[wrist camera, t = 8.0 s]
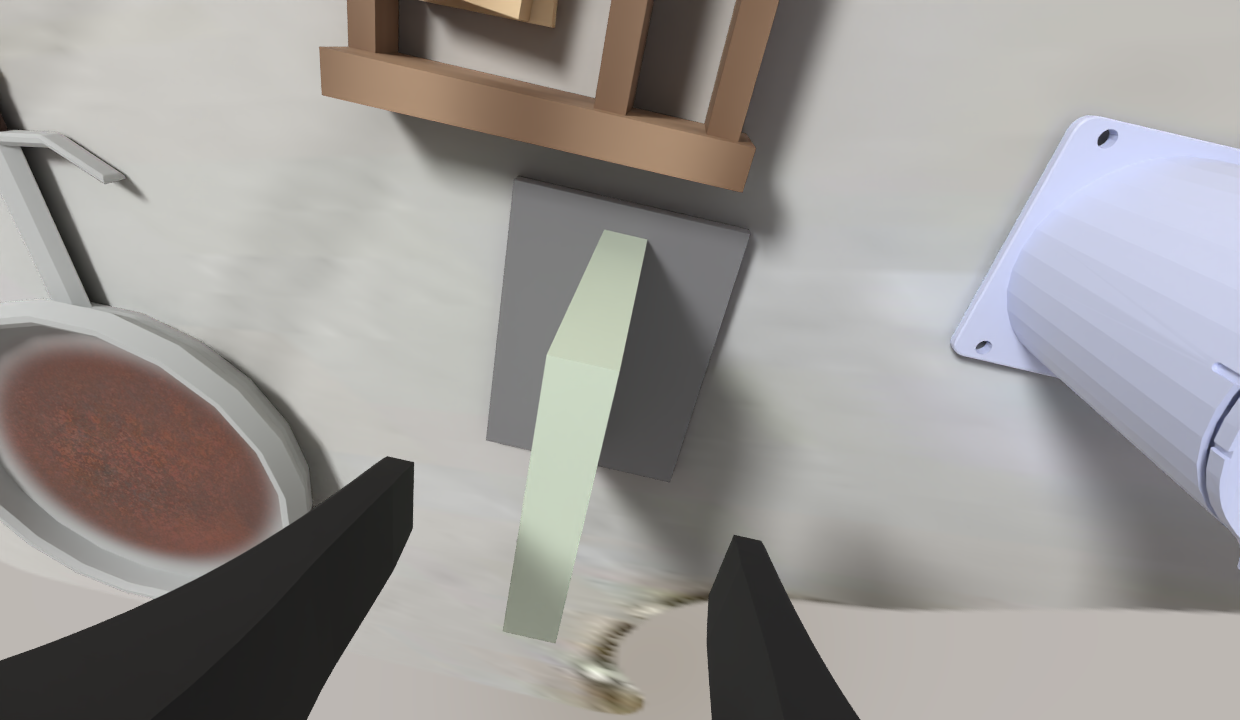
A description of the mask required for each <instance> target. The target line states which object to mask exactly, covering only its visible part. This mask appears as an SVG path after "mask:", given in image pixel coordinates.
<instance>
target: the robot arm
mask: <svg viewBox="0 0 1240 720" xmlns="http://www.w3.org/2000/svg"><path fill="white" fill-rule="evenodd" d="M1106 130H1109V137H1108V139H1107V141H1106V142H1105V143H1104V144H1102V145H1100V146H1098V144H1097V140H1098V137H1099V136H1100V135H1101V134H1102V132H1104V131H1106ZM982 341H987V343H986V345H985V346H984V347H982V348H980V349H976V346H977V345H978V344H979V343H980V342H982ZM950 342H951V347H952V348H953V349H954V350H955V351H956V353H957V354H959V355H961V356H965V357H969V358H973V359H978V360H982V361H986V362H991V363H995V364H999V365H1004V366H1008V367H1012V368H1017V369H1021V370H1025V371H1030V372H1034V373H1038V374H1043V375H1047V376H1051V377H1056V378H1059V379H1060V380H1062V381H1063V382H1064V383H1065V384H1066V385H1067V386H1068V387H1069V388H1071V389H1072V390H1073V391H1074V392H1075V393H1076V394H1077V395H1078V396H1079V397H1081V398H1082V399H1083V400H1084V401H1085V402H1086V403H1087V404H1088V405H1090V406H1091V407H1092V408H1093V409H1094V410H1095V411H1096V412H1097V413H1099V414H1100V415H1101V416H1102V417H1103V418H1104V419H1105V420H1106V421H1107V422H1109V423H1110V424H1111V425H1112V426H1113V427H1114V428H1115V429H1116V430H1118V431H1119V432H1120V433H1121V434H1122V435H1123V436H1124V437H1125V438H1126V439H1128V440H1129V441H1130V442H1131V443H1132V444H1133V445H1134V446H1135V447H1137V448H1138V449H1139V450H1140V451H1141V452H1142V453H1143V454H1144V455H1146V456H1147V457H1148V458H1149V459H1150V460H1151V461H1152V462H1153V463H1154V464H1156V465H1157V466H1158V467H1159V468H1160V469H1161V470H1162V471H1163V472H1165V473H1166V474H1167V475H1168V476H1169V477H1170V478H1171V479H1172V480H1173V481H1175V482H1176V483H1177V484H1178V485H1179V486H1180V487H1181V488H1182V489H1184V490H1185V491H1186V492H1187V493H1188V494H1189V495H1190V496H1191V497H1193V498H1194V499H1195V500H1196V501H1197V502H1198V503H1199V504H1200V505H1201V506H1203V507H1204V508H1205V509H1206V510H1207V511H1208V512H1209V513H1210V514H1212V515H1213V516H1214V517H1215V518H1216V519H1217V520H1218V521H1219V522H1220V523H1222V524H1223V525H1224V526H1225V527H1227V528H1228V529H1229V531H1230V532H1231V533H1232V534H1233V535H1234V536H1235V538H1236V539H1237V541H1238V543H1239V546H1240V149H1237V148H1233V147H1229V146H1224V145H1220V144H1216V143H1212V142H1207V141H1203V140H1199V139H1195V138H1190V137H1186V136H1182V135H1177V134H1173V133H1169V132H1165V131H1160V130H1156V129H1152V128H1147V127H1143V126H1139V125H1135V124H1130V123H1126V122H1122V121H1118V120H1113V119H1109V118H1105V117H1100V116H1095V115H1086V116H1083V117H1080V118H1078V119H1077V120H1075V121H1074V122H1073V123H1072V124H1071V125H1070V126H1069V128H1068V129H1067V130H1066V132H1065V134H1064V136H1063V138H1062V139H1061V141H1060V143H1059V145H1058V147H1057V148H1056V150H1055V152H1054V154H1053V156H1052V157H1051V159H1050V161H1049V163H1048V165H1047V166H1046V168H1045V170H1044V172H1043V174H1042V175H1041V177H1040V179H1039V181H1038V183H1037V184H1036V186H1035V188H1034V190H1033V192H1032V193H1031V195H1030V197H1029V199H1028V201H1027V202H1026V204H1025V206H1024V208H1023V210H1022V211H1021V213H1020V215H1019V217H1018V219H1017V220H1016V222H1015V224H1014V226H1013V228H1012V230H1011V231H1010V233H1009V235H1008V237H1007V239H1006V240H1005V242H1004V244H1003V246H1002V248H1001V249H1000V251H999V253H998V255H997V257H996V258H995V260H994V262H993V264H992V266H991V267H990V269H989V271H988V273H987V275H986V276H985V278H984V280H983V282H982V284H981V285H980V287H979V289H978V291H977V293H976V294H975V296H974V298H973V300H972V302H971V303H970V305H969V307H968V309H967V311H966V312H965V314H964V316H963V318H962V320H961V321H960V323H959V325H958V327H957V329H956V330H955V332H954V334H953V336H952V338H951V341H950ZM413 489H414V462H410V461H406V460H401V459H397V458H392V457H388V456H387V457H385V458H383V459H382V460H380V461H379V462H378V463H376V464H375V465H373V466H372V467H371V468H369V469H368V470H367V471H365V472H364V473H363V474H361V475H360V476H359V477H357V478H356V479H354V480H353V481H352V482H350V483H349V484H348V485H346V486H345V487H343V488H342V489H341V490H339V491H338V492H336V493H335V494H334V495H332V496H331V497H329V498H328V499H327V500H325V501H324V502H322V503H321V504H319V505H318V506H316V507H315V508H313V509H312V510H311V511H309V512H308V513H306V514H305V515H303V516H302V517H300V518H299V519H297V520H296V521H294V522H293V523H291V524H290V525H288V526H286V527H285V528H283V529H282V530H280V531H278V532H277V533H275V534H274V535H272V536H270V537H269V538H267V539H266V540H264V541H262V542H261V543H259V544H258V545H256V546H254V547H253V548H251V549H249V550H248V551H246V552H244V553H242V554H241V555H239V556H237V557H235V558H234V559H232V560H230V561H228V562H227V563H225V564H223V565H221V566H219V567H217V568H215V569H214V570H212V571H210V572H208V573H206V574H204V575H202V576H201V577H199V578H197V579H195V580H193V581H191V582H189V583H187V584H185V585H183V586H180V587H178V588H176V589H174V590H172V591H170V592H168V593H166V594H164V595H162V596H160V597H157V598H155V599H153V600H151V601H149V602H147V603H145V604H143V605H141V606H138V607H136V608H134V609H132V610H130V611H127V612H125V613H123V614H120V615H118V616H115V617H113V618H111V619H108V620H106V621H104V622H101V623H99V624H97V625H94V626H92V627H89V628H87V629H84V630H82V631H79V632H77V633H74V634H72V635H69V636H67V637H64V638H61V639H59V640H56V641H54V642H51V643H48V644H46V645H43V646H40V647H38V648H35V649H32V650H29V651H26V652H24V653H21V654H18V655H15V656H12V657H9V658H7V659H4V660H1V661H0V720H307V718H308V716H309V714H310V712H311V710H312V708H313V706H314V704H315V702H316V700H317V698H318V696H319V694H320V692H321V690H322V688H323V686H324V685H325V683H326V681H327V679H328V677H329V676H330V674H331V672H332V670H333V669H334V667H335V665H336V663H337V662H338V660H339V659H340V657H341V655H342V654H343V652H344V650H345V649H346V647H347V646H348V644H349V642H350V641H351V639H352V638H353V636H354V634H355V633H356V631H357V629H358V628H359V626H360V625H361V623H362V621H363V620H364V618H365V616H366V615H367V613H368V612H369V610H370V608H371V607H372V605H373V603H374V602H375V600H376V598H377V597H378V595H379V594H380V592H381V590H382V589H383V587H384V585H385V584H386V582H387V580H388V579H389V577H390V575H391V574H392V572H393V570H394V568H395V566H396V564H397V562H398V560H399V557H400V555H401V553H402V551H403V549H404V547H405V544H406V542H407V540H408V538H409V536H410V533H411V531H412V529H413ZM1237 568H1238V569H1239V570H1240V558H1239V562H1238V565H1237ZM707 656H708V670H709V686H710V699H711V713H712V720H860V719H859V717H858V716H857V715H856V713H855V711H854V710H853V708H852V707H851V705H850V704H849V703H848V701H847V699H846V698H845V696H844V695H843V693H842V691H841V690H840V688H839V687H838V685H837V683H836V682H835V680H834V679H833V677H832V675H831V674H830V672H829V671H828V669H827V667H826V665H825V664H824V662H823V660H822V658H821V657H820V655H819V653H818V651H817V650H816V648H815V646H814V644H813V643H812V641H811V639H810V637H809V635H808V634H807V632H806V630H805V628H804V626H803V624H802V622H801V620H800V618H799V617H798V615H797V613H796V611H795V609H794V607H793V605H792V603H791V601H790V599H789V597H788V595H787V593H786V591H785V589H784V587H783V585H782V583H781V581H780V579H779V577H778V574H777V572H776V570H775V568H774V566H773V564H772V562H771V559H770V557H769V555H768V553H767V551H766V549H765V547H764V545H763V543H762V542H761V541H759V540H755V539H750V538H746V537H741V536H737V535H734V536H733V538H732V541H731V543H730V546H729V548H728V550H727V553H726V555H725V558H724V560H723V562H722V565H721V567H720V570H719V572H718V574H717V577H716V579H715V582H714V584H713V587H712V589H711V591H710V594H709V601H708V619H707Z"/></svg>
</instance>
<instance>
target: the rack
mask: <svg viewBox="0 0 1240 720" xmlns="http://www.w3.org/2000/svg"><path fill="white" fill-rule="evenodd" d="M653 3H654V0H611V6H610V12H609V18H608V24H607V30H606V36H605V42H604V49H603V55H602V61H601V67H600V73H599V79H598V85H597V91H596V97H595V98H591V97H587V96H583V95H578V94H574V93H570V92H565V91H561V90H557V89H553V88H548V87H544V86H540V85H535V84H531V83H527V82H522V81H518V80H514V79H510V78H505V77H501V76H497V75H492V74H488V73H484V72H479V71H475V70H471V69H467V68H462V67H458V66H454V65H449V64H445V63H441V62H437V61H432V60H428V59H424V58H419V57H415V56H411V55H406V54H402V53H398V19H399V0H347V16H348V47H319V50H320V69H321V88H322V95H324V96H328V97H332V98H337V99H341V100H345V101H350V102H354V103H358V104H363V105H367V106H371V107H375V108H380V109H384V110H388V111H393V112H397V113H401V114H406V115H410V116H414V117H419V118H423V119H427V120H431V121H436V122H440V123H444V124H449V125H453V126H457V127H462V128H466V129H470V130H475V131H479V132H483V133H487V134H492V135H496V136H500V137H505V138H509V139H513V140H518V141H522V142H526V143H531V144H535V145H539V146H544V147H548V148H552V149H556V150H561V151H565V152H569V153H574V154H578V155H582V156H587V157H591V158H595V159H600V160H604V161H608V162H612V163H617V164H621V165H625V166H630V167H634V168H638V169H643V170H647V171H651V172H656V173H660V174H664V175H668V176H673V177H677V178H681V179H686V180H690V181H694V182H699V183H703V184H707V185H712V186H716V187H720V188H724V189H729V190H733V191H737V192H742V193H743V189H744V186H745V183H746V180H747V176H748V173H749V170H750V166H751V163H752V160H753V157H754V153H755V150H756V148H755V146H754V145H753V143H752V142H751V140H750V139H749V137H748V136H747V134H746V133H742V132H741V131H742V127H743V124H744V120H745V117H746V114H747V110H748V107H749V103H750V100H751V96H752V93H753V89H754V86H755V82H756V79H757V76H758V72H759V69H760V65H761V62H762V58H763V55H764V51H765V48H766V44H767V41H768V38H769V34H770V31H771V27H772V24H773V20H774V17H775V13H776V10H777V6H778V3H779V0H736V3H735V7H734V11H733V15H732V18H731V22H730V26H729V30H728V34H727V38H726V42H725V46H724V50H723V53H722V57H721V61H720V65H719V69H718V73H717V77H716V81H715V84H714V88H713V92H712V96H711V100H710V104H709V108H708V112H707V116H706V119H705V123H704V124H703V123H699V122H694V121H690V120H686V119H681V118H677V117H673V116H669V115H664V114H660V113H656V112H651V111H647V110H643V109H638V108H634V107H633V105H634V100H635V95H636V90H637V85H638V80H639V75H640V70H641V64H642V59H643V54H644V49H645V44H646V39H647V34H648V29H649V24H650V19H651V14H652V9H653Z"/></svg>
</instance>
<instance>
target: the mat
mask: <svg viewBox="0 0 1240 720" xmlns="http://www.w3.org/2000/svg"><path fill="white" fill-rule="evenodd" d="M604 230H608V231H613V232H617V233H621V234H626V235H630V236H634V237H639V238H643V239H647V244H646V249H645V254H644V258H643V263H642V268H641V273H640V277H639V282H638V287H637V292H636V296H635V301H634V306H633V310H632V315H631V320H630V325H629V329H628V334H627V339H626V343H625V348H624V353H623V358H622V362H621V367H620V372H619V376H618V380H617V385H616V389H615V393H614V397H613V401H612V406H611V410H610V414H609V418H608V423H607V427H606V431H605V435H604V440H603V444H602V448H601V452H600V457H599V461H598V465H597V466H601V467H605V468H609V469H614V470H618V471H623V472H627V473H631V474H636V475H640V476H644V477H649V478H653V479H658V480H662V481H666V482H670V481H671V478H672V475H673V471H674V468H675V465H676V462H677V459H678V456H679V453H680V450H681V447H682V444H683V441H684V438H685V434H686V431H687V428H688V425H689V422H690V419H691V416H692V413H693V410H694V407H695V404H696V401H697V397H698V394H699V391H700V388H701V385H702V382H703V379H704V376H705V373H706V370H707V367H708V363H709V360H710V357H711V354H712V351H713V348H714V345H715V342H716V339H717V336H718V333H719V330H720V326H721V323H722V320H723V317H724V314H725V311H726V308H727V305H728V302H729V299H730V296H731V293H732V289H733V286H734V283H735V280H736V277H737V274H738V271H739V268H740V265H741V262H742V259H743V255H744V252H745V249H746V246H747V243H748V240H749V237H750V232H749V229H745V228H741V227H736V226H732V225H728V224H723V223H719V222H715V221H710V220H706V219H702V218H697V217H693V216H689V215H684V214H680V213H676V212H672V211H667V210H663V209H659V208H654V207H650V206H646V205H641V204H637V203H633V202H628V201H624V200H620V199H615V198H611V197H607V196H602V195H598V194H594V193H590V192H585V191H581V190H577V189H572V188H568V187H564V186H559V185H555V184H551V183H546V182H542V181H538V180H533V179H529V178H525V177H520V176H518V177H517V178H516V179H514V184H513V194H512V203H511V212H510V222H509V231H508V240H507V250H506V259H505V268H504V278H503V287H502V296H501V306H500V315H499V324H498V334H497V343H496V352H495V362H494V371H493V380H492V390H491V399H490V408H489V418H488V427H487V436H486V440H487V441H491V442H496V443H500V444H504V445H509V446H513V447H518V448H522V449H526V450H532V444H533V438H534V431H535V425H536V419H537V412H538V406H539V400H540V394H541V387H542V381H543V375H544V368H545V362H546V356H547V353H548V351H549V349H550V346H551V344H552V342H553V340H554V338H555V336H556V333H557V331H558V329H559V327H560V325H561V322H562V320H563V318H564V316H565V314H566V312H567V309H568V307H569V305H570V303H571V301H572V299H573V296H574V294H575V292H576V290H577V288H578V286H579V283H580V281H581V279H582V277H583V275H584V272H585V270H586V268H587V266H588V264H589V262H590V259H591V257H592V255H593V253H594V251H595V249H596V246H597V244H598V242H599V240H600V238H601V236H602V233H603V231H604Z"/></svg>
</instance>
